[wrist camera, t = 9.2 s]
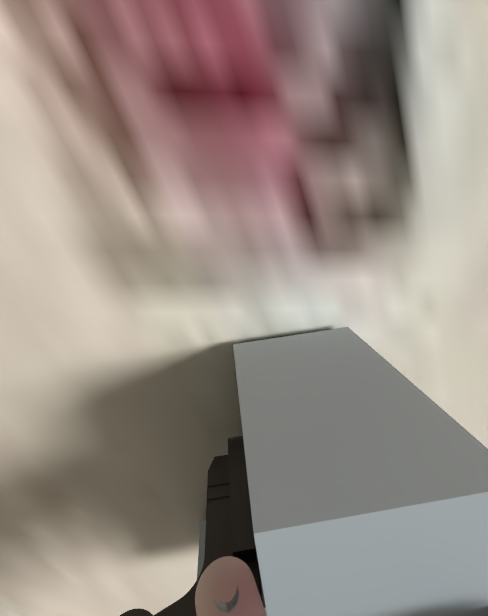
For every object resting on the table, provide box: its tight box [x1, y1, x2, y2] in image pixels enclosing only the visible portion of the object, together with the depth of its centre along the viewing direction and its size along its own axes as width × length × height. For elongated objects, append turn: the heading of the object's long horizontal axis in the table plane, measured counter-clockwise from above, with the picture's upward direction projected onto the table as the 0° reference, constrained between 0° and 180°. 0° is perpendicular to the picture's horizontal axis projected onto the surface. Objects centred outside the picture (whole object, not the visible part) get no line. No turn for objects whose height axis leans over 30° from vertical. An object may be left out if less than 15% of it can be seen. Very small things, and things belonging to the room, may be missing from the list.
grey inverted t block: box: [197, 327, 488, 616], centre depth 8 cm, size 10×9×6 cm
